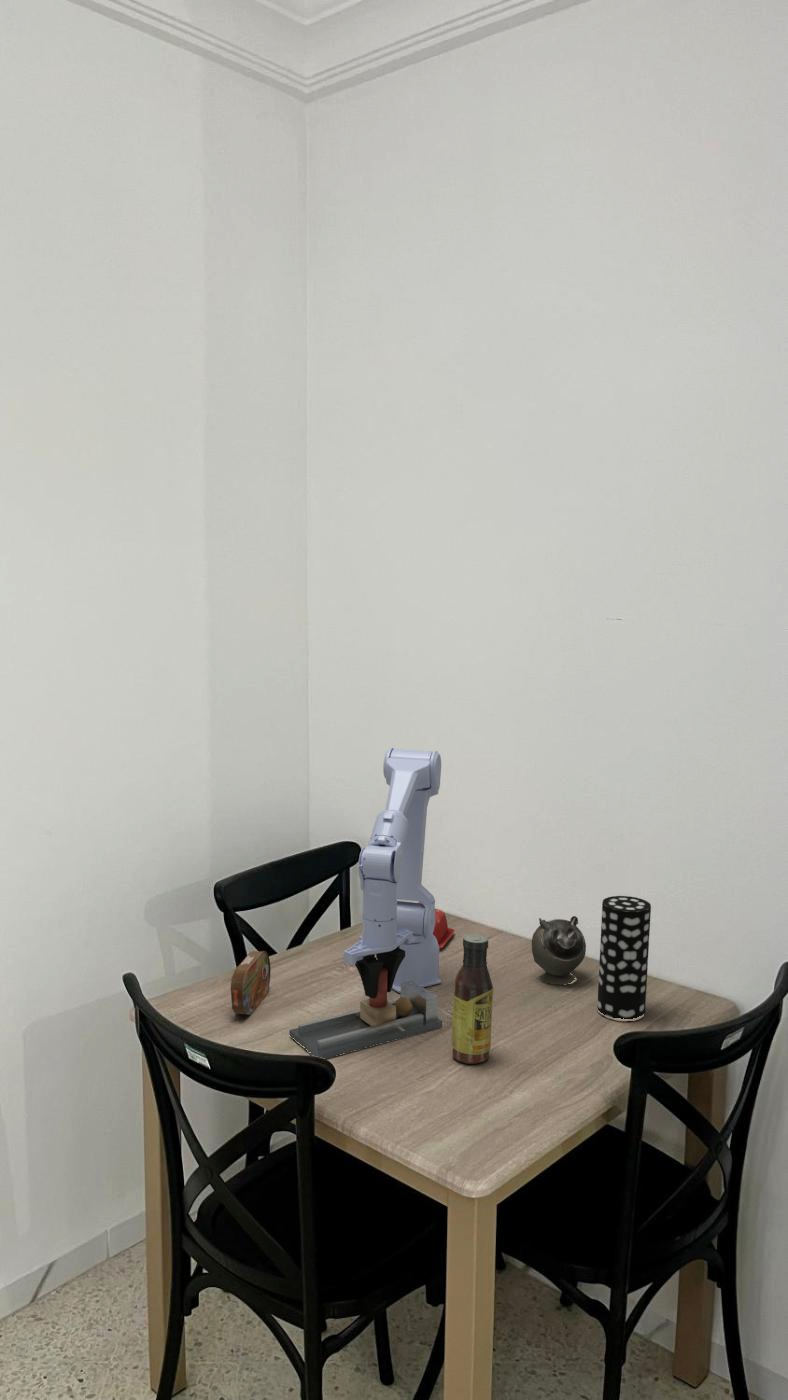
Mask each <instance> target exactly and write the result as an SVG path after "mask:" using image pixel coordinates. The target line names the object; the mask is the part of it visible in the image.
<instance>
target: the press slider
mask: <svg viewBox="0 0 788 1400" xmlns="http://www.w3.org/2000/svg"><path fill="white" fill-rule="evenodd" d="M387 975H388V970H387V969H386V968H384V967H382V968H381V971H380V975H379V980H378V993H377V997H376V998H374V999H373V998H370V997H368V999H364V1000H363V999H362V1000H360V1002H359V1003H360V1004H359V1009H360V1018H361V1019H362V1020H364V1021H365V1022H366V1023H368V1024H369V1025H371V1026H375V1025H379V1024H382V1023H386V1022H390V1021H394V1020H396V1007H395V1006H394V1005H393V1004H391V1003H390V1002H391V1001H388V992H387Z"/></svg>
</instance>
